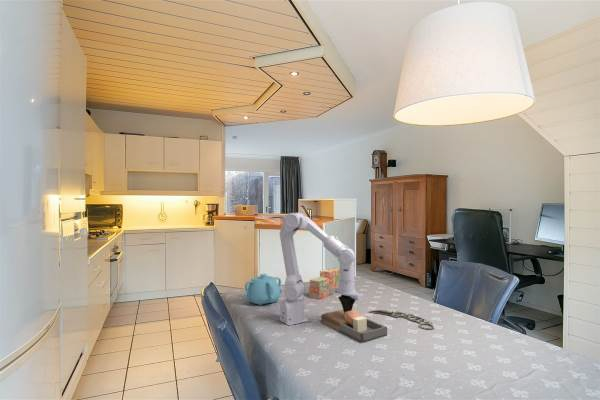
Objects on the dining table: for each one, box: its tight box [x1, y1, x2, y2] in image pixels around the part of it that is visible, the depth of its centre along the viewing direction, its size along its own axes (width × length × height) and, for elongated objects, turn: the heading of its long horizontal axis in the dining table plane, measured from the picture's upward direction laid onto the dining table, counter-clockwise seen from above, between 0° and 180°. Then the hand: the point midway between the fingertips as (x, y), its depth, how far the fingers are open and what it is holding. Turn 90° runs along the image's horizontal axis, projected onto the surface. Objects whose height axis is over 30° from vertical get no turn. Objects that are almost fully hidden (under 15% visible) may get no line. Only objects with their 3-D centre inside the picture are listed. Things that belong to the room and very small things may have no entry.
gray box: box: [339, 318, 388, 344], centre depth 120 cm, size 12×12×3 cm
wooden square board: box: [320, 309, 353, 332], centre depth 131 cm, size 12×12×3 cm
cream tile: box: [353, 315, 368, 332], centre depth 122 cm, size 4×4×3 cm
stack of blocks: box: [309, 267, 340, 300], centre depth 174 cm, size 21×6×12 cm, turn 141°
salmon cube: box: [344, 309, 362, 325], centre depth 126 cm, size 4×4×3 cm
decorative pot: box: [243, 273, 283, 306], centre depth 162 cm, size 16×16×14 cm
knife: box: [369, 309, 435, 331], centre depth 136 cm, size 28×2×10 cm
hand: (347, 314), depth 128 cm, fingers closed
